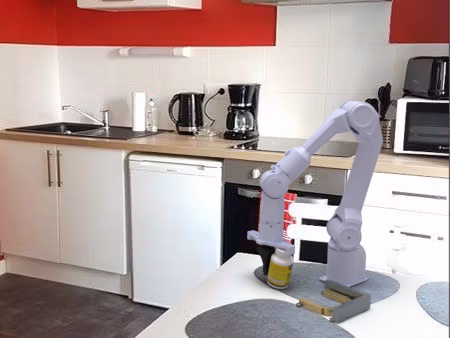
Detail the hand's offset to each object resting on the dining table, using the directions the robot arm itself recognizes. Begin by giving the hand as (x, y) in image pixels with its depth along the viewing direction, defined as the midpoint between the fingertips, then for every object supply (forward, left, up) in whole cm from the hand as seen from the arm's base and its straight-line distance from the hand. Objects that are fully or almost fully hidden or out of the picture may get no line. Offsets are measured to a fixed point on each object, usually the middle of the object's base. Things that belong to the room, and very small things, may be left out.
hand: (268, 274), depth 139 cm
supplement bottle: (-1, +3, -2) cm, 3 cm away
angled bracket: (-1, +19, -2) cm, 19 cm away
